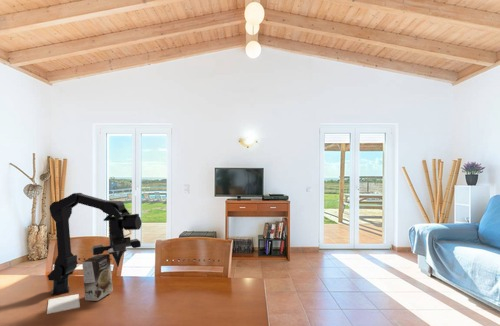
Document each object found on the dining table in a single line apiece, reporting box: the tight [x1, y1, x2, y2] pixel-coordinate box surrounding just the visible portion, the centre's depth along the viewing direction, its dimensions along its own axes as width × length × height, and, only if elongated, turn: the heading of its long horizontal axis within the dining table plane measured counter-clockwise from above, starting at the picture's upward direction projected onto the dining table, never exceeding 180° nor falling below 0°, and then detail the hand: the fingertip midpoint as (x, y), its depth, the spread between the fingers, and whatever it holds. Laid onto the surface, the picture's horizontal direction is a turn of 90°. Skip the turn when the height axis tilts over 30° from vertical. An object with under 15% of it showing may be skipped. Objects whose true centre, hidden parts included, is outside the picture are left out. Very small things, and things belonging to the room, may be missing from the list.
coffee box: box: [81, 253, 114, 302], centre depth 122 cm, size 9×6×16 cm
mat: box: [46, 293, 81, 315], centre depth 115 cm, size 14×10×1 cm
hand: (117, 266), depth 126 cm, fingers closed
